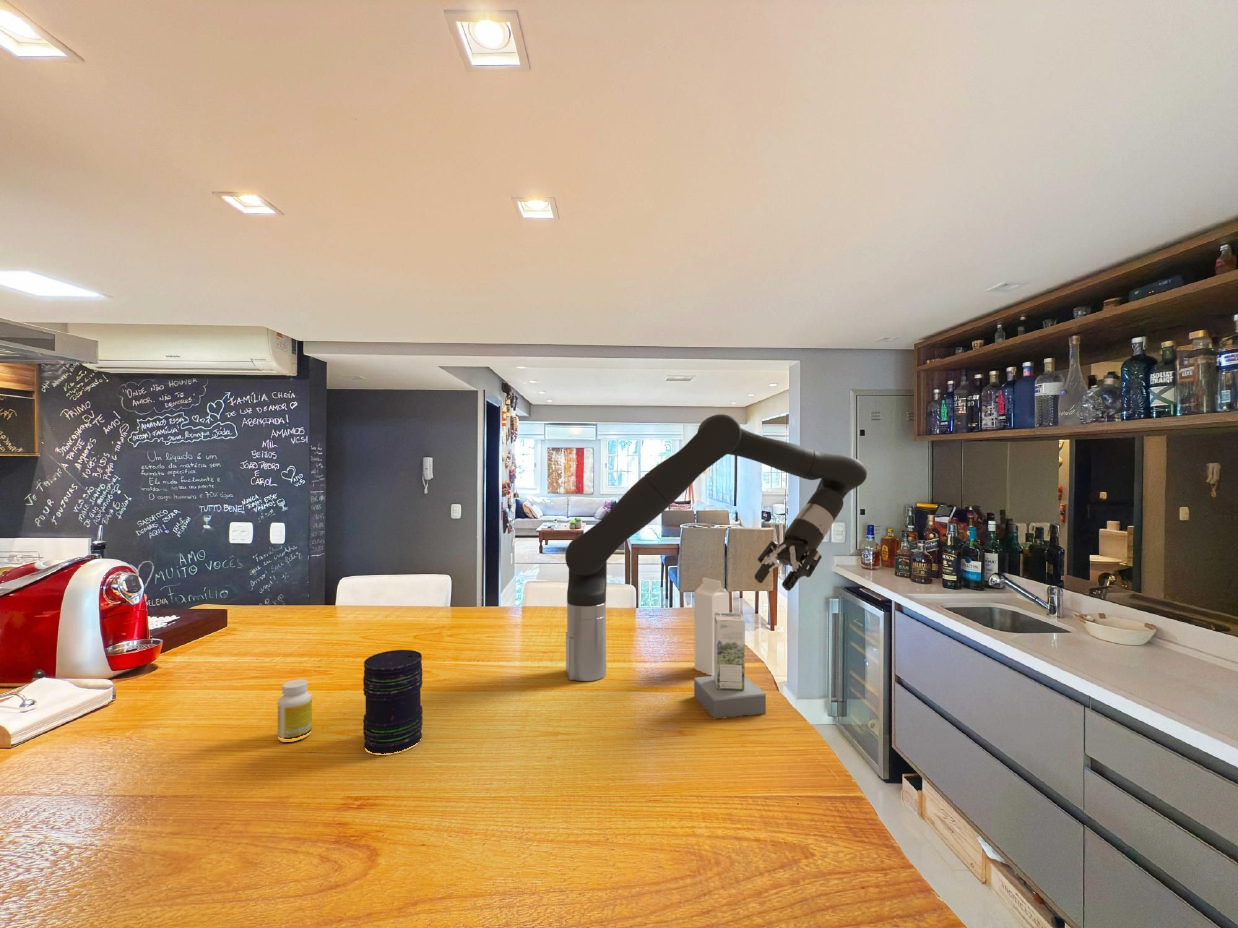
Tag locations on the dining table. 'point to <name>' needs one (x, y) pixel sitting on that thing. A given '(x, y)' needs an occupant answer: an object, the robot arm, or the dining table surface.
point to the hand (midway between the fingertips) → (770, 584)
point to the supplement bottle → (294, 710)
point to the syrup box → (729, 651)
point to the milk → (707, 621)
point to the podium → (729, 698)
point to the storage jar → (392, 701)
